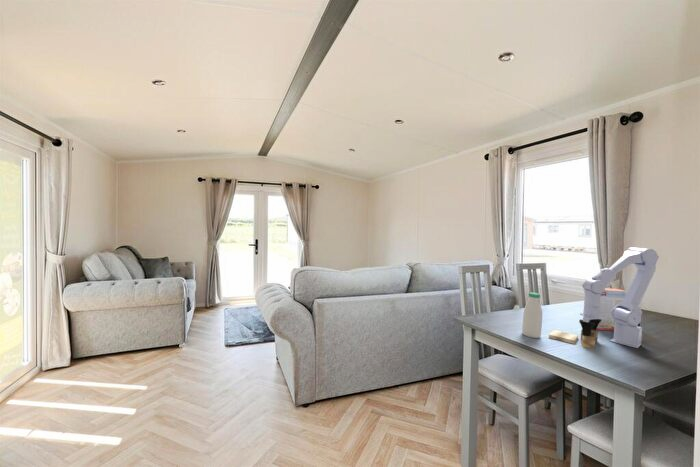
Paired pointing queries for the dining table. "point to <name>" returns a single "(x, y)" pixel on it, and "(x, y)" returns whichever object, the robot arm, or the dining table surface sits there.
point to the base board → (563, 336)
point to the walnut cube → (592, 334)
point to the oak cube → (588, 342)
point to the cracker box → (609, 307)
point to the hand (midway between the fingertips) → (589, 335)
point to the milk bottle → (532, 317)
